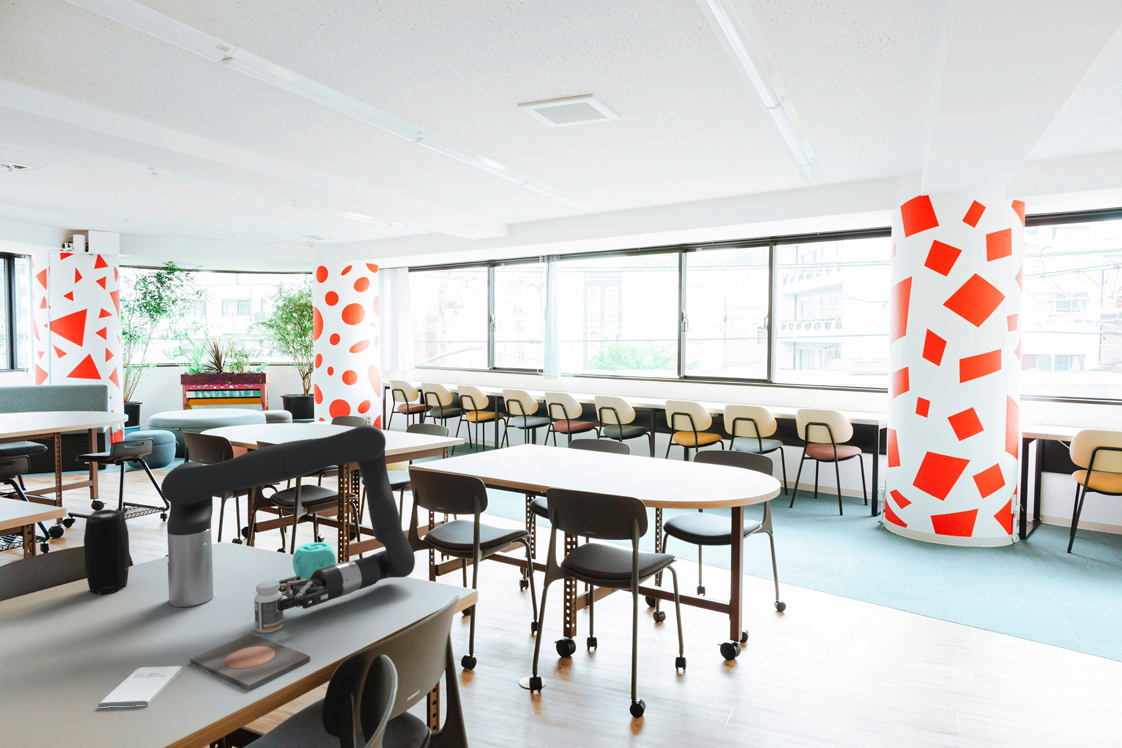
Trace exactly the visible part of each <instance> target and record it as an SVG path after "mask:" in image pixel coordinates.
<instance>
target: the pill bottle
mask: <svg viewBox="0 0 1122 748" xmlns="http://www.w3.org/2000/svg"><path fill="white" fill-rule="evenodd" d="M279 581H280V580H274V579H273V580H272V579H270V580H269V579H268V580H264V581H261V582H259V583H258V582H257V584H256V586H255V588H256V589H255V592H256V593H257V594H255V596H254V600H253V601H254V602H253V603H254V604H253V605H254V606H253V607H254V609H253V610H254V626H255V627H254V628H255V631H256V632H257V633H260V634H270V633H273V632H277V631H279V630H281V629H282V628H283V626H284V610H283V611H279V610H277V602H278V601H279V600H282V599H283V596H282V593H281V592H280V591H279V588H280V583H279Z"/></svg>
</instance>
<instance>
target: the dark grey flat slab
mask: <svg viewBox="0 0 1122 748" xmlns="http://www.w3.org/2000/svg"><path fill="white" fill-rule="evenodd" d="M310 661H311V656H310V655H308V654H306V653H303V652H300V651H298V650H295V649H293V648H292V647H291V648H290V647H287V646H285V645H282V644H280V643H278V642H274V641H271V640H269V639H267V638H263V637H262V636H259V635H256V634H253V633H249V634H247V635H243V636H242V637H239V638H237V639H234V640H233V641H232V640H231V641H230V642H227V643H224V644H222V645H220V646H218V647H215V648H213V649H211V650H208V651H205V652H203V653H201V654H198V655H195V656H194V657H191V658H189V664H190V663H191V664H193V665H195V666H194V667H196V666H197V667H196V668H198V667H199V668H198V669H200V668H201V669H200V670H202V669H203V671H204V670H206V671H205V672H207V671H208V672H207V673H209V672H210V673H209V674H211V673H212V674H211V675H213V674H214V676H215V675H216V677H217V678H220V679H221V680H224V681H227V682H228V683H231V684H232V685H236V686H237V685H238V687H240V688H242V687H243V688H242V689H244V688H245V689H244V690H246V689H247V690H246V691H248V690H249V691H251V690H255V689H256V688H258V687H260V686H262V685H264V684H266V683H268V682H270V681H272V680H275V679H276V678H278V677H280V676H283V675H284V674H286V673H289V672H291V671H294V669H297V668H298V667H301V666H302V665H304V664H307V663H309V662H310ZM191 664H190V665H191ZM193 665H192V666H193Z"/></svg>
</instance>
